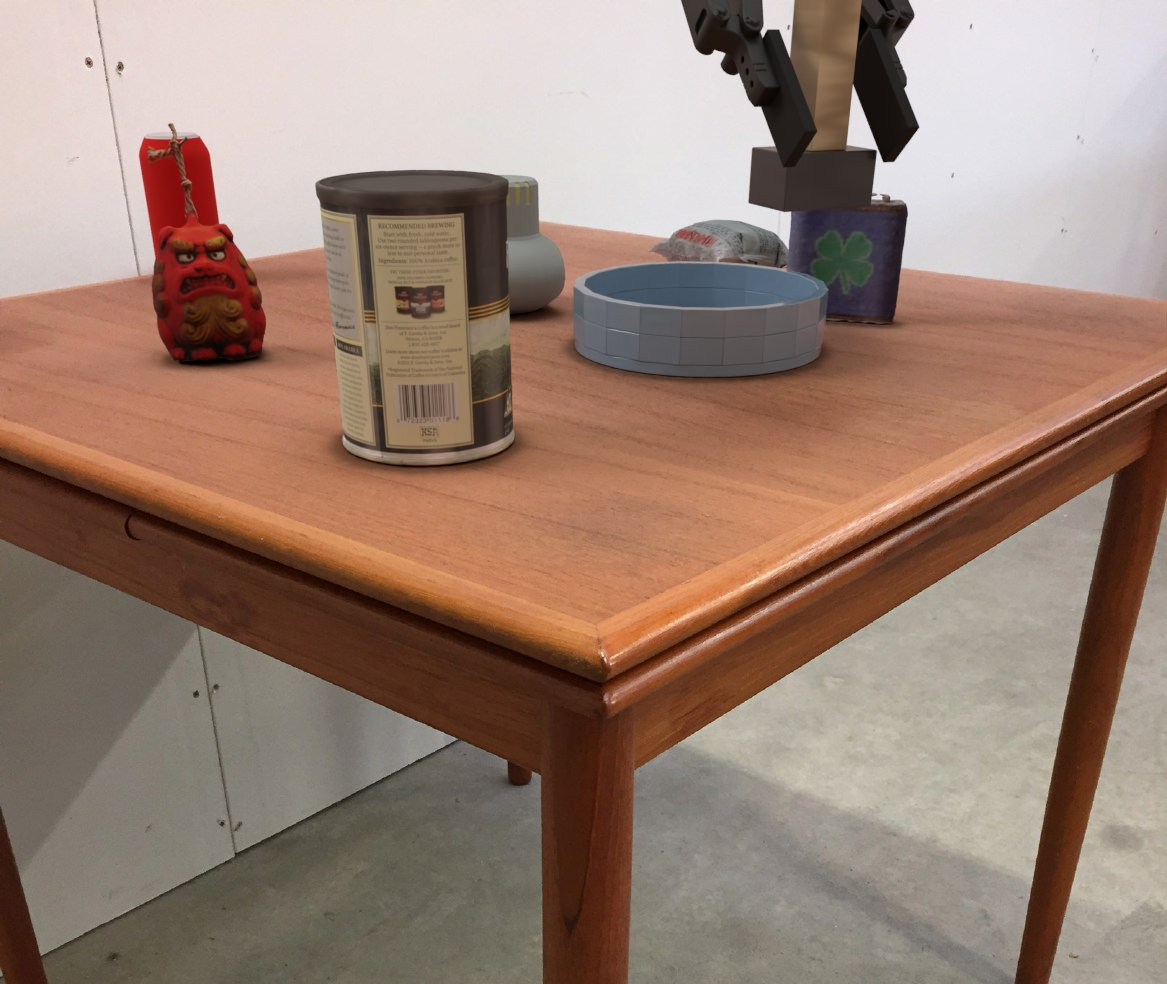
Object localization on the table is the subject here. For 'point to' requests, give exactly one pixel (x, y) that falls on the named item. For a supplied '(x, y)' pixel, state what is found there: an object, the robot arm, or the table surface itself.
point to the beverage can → (177, 183)
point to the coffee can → (420, 313)
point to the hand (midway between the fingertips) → (851, 146)
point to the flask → (853, 256)
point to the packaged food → (724, 244)
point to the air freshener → (530, 250)
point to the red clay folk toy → (204, 286)
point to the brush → (820, 118)
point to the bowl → (699, 318)
